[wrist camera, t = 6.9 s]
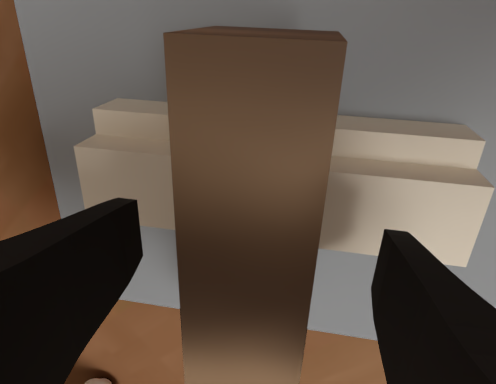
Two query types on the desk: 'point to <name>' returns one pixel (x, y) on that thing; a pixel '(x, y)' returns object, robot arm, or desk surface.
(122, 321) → the desk surface
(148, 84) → the ridge stand
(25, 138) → the desk surface
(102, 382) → the lightbulb
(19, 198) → the desk surface
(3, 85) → the desk surface
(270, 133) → the walnut bar
